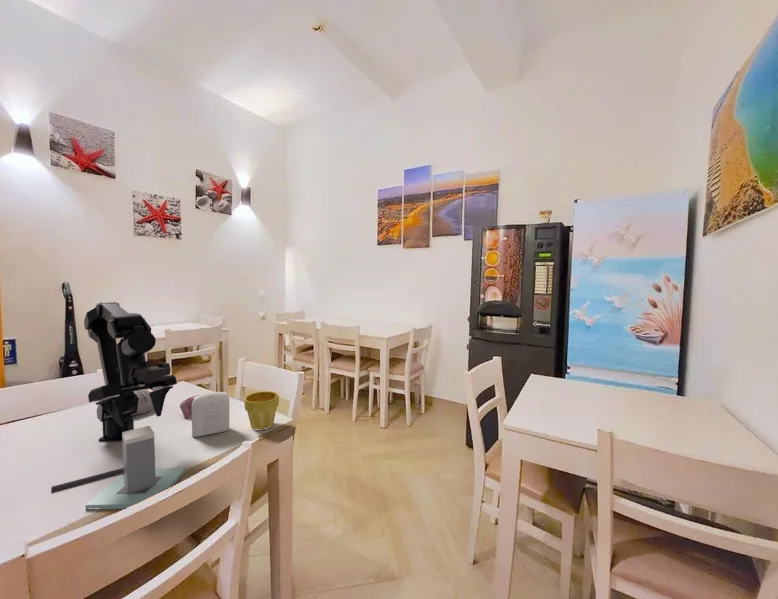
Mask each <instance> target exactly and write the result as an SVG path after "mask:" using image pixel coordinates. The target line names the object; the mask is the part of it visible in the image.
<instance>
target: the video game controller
mask: <svg viewBox="0 0 778 599" xmlns="http://www.w3.org/2000/svg"><path fill="white" fill-rule="evenodd" d="M197 396H199V394H197V395H193V396H191V397H188V398H186V399H184V400H183V401H181V403H180V404H179V408H180V410H181V412H182V415H183V417H184V418H185V419H187V418H188V419H190V415H192V402H193V398H194V397H197Z"/></svg>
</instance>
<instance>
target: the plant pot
mask: <svg viewBox="0 0 778 599" xmlns="http://www.w3.org/2000/svg"><path fill="white" fill-rule="evenodd" d="M243 401H244V410H245V411H246V412H247V415H248V420H249V423H250V427H251V429H252V428H253V429H252V430H254V429H265V428H268V427H270V426H272V425H273V426H274V423H275V419H276V418H275V417H276V413H277V412H276V411H277V408H278V407H279V403H280V402H279V401H280V399H279V393H277V392H275V391H269V390H268V391H267V390H265V391H257V392H253V393H250V394H248V395H246V396H245V397H244V400H243ZM273 426H272V427H273ZM270 428H271V427H270ZM268 429H269V428H268ZM265 430H266V429H265Z"/></svg>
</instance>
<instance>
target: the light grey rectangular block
mask: <svg viewBox="0 0 778 599" xmlns="http://www.w3.org/2000/svg"><path fill="white" fill-rule="evenodd" d="M121 442H122V461H123V462H122V464H123V467H122V468H123V469H124V473H123V474H124V485H125V488H126V491H127V494H131V493H134V492H137V491H139V490H142V489H145V488H148V487H151V486H154V485H156V477H155V469H156V456H155V455H156V451H155V450H156V449H155V432H154V431H153V429H152V427H151V426H150V425H146V426H141V427H137V428H134V429H133V430H129V431H125V432H122V440H121Z"/></svg>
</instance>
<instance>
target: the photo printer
mask: <svg viewBox="0 0 778 599" xmlns="http://www.w3.org/2000/svg"><path fill="white" fill-rule="evenodd" d="M198 395H199V394H198ZM196 396H197V395H196ZM229 430H230V396H229V394H228V392H225V391H210V392H206V393H203V394H200V395H199V396H197V397H194V398H193V402H192V414H191V436H192V437H193V438H197V437H202V436H208V435H212V434H217V433H223V432H227V431H229Z"/></svg>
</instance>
